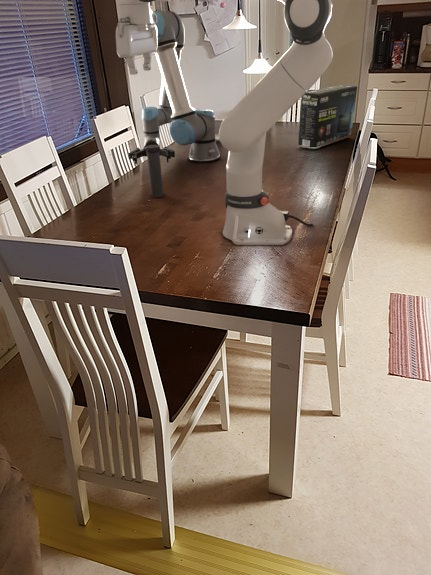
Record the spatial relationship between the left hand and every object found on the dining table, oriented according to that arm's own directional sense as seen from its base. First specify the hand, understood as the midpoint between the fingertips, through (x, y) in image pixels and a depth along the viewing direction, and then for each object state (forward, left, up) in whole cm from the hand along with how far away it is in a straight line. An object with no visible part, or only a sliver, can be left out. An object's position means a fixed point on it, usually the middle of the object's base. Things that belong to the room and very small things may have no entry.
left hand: (151, 160), depth 195 cm
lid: (+17, +10, +10) cm, 22 cm away
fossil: (-73, +11, -9) cm, 75 cm away
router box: (-79, +63, -9) cm, 102 cm away
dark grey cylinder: (+17, +10, -9) cm, 21 cm away
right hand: (+44, +23, +39) cm, 63 cm away
